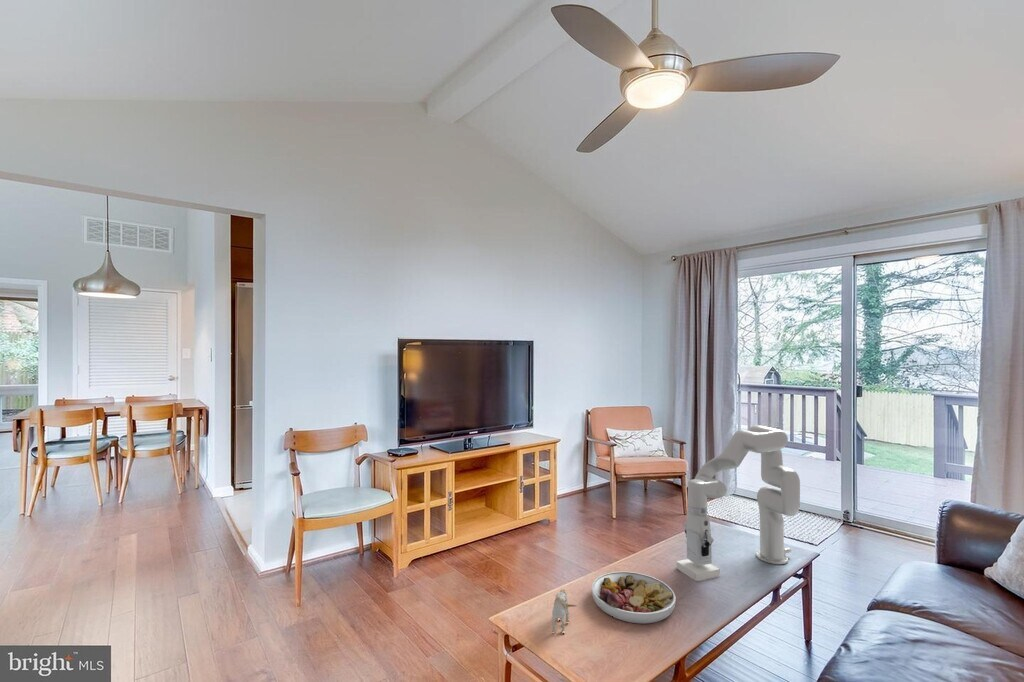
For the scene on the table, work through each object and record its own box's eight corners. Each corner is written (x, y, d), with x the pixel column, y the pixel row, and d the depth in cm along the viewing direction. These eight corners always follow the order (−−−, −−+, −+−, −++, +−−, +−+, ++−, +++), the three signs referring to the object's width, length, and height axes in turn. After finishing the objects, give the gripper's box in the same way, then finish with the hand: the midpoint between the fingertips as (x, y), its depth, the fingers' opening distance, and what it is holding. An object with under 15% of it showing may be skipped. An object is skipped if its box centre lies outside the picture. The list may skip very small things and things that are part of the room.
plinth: (698, 563, 203) (698, 556, 203) (719, 576, 192) (719, 569, 192) (676, 568, 199) (676, 561, 199) (696, 581, 188) (696, 573, 188)
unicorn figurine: (554, 648, 145) (554, 606, 146) (547, 613, 165) (547, 575, 165) (576, 648, 146) (576, 605, 146) (567, 613, 165) (567, 575, 165)
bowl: (619, 576, 193) (619, 557, 193) (690, 604, 171) (689, 583, 171) (575, 603, 172) (575, 582, 172) (649, 640, 150) (649, 615, 150)
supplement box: (712, 564, 193) (711, 533, 193) (696, 565, 192) (695, 535, 192) (701, 556, 200) (701, 526, 200) (686, 557, 199) (685, 528, 199)
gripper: (720, 515, 189) (720, 558, 189) (690, 502, 206) (690, 542, 205) (705, 518, 187) (706, 561, 186) (676, 504, 203) (676, 544, 203)
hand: (697, 551), depth 196 cm, fingers closed on supplement box, 7 cm apart
